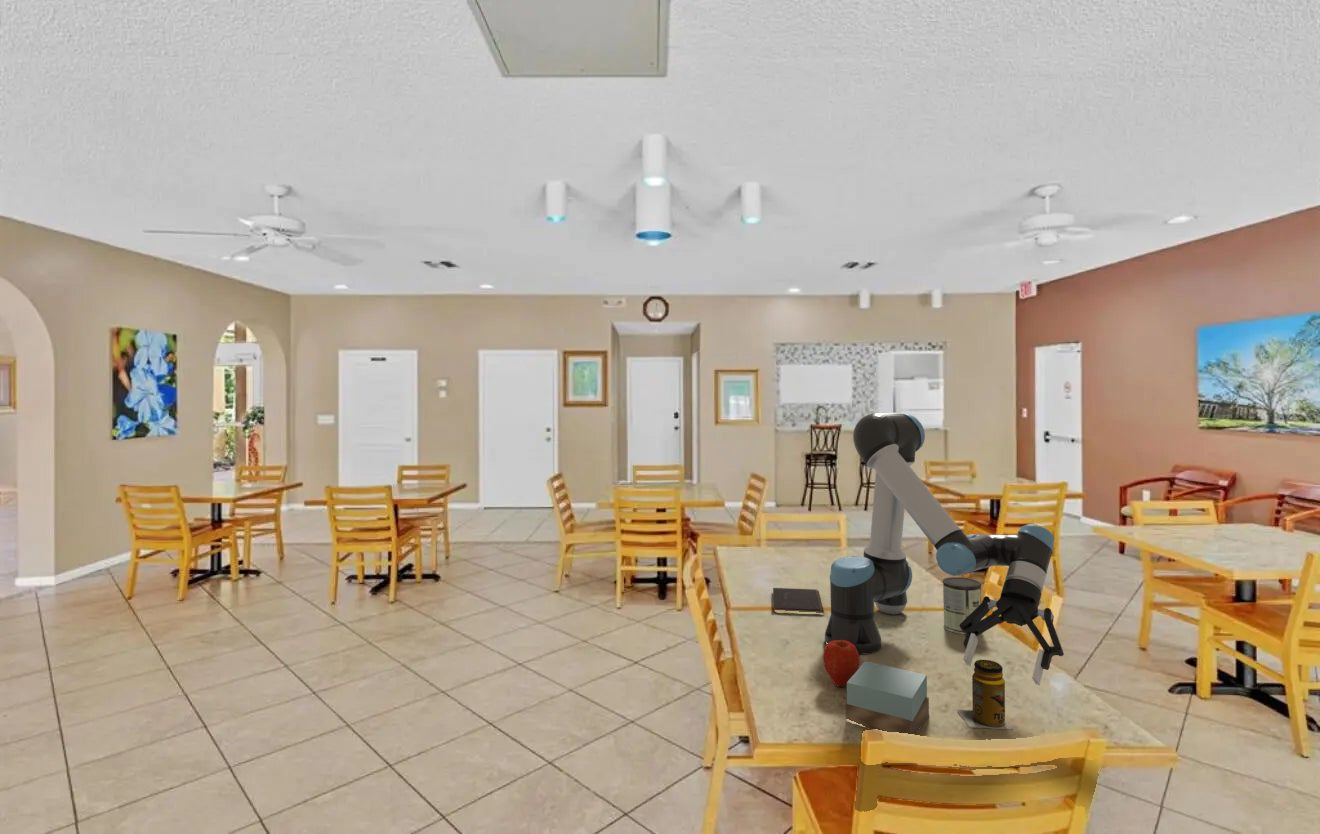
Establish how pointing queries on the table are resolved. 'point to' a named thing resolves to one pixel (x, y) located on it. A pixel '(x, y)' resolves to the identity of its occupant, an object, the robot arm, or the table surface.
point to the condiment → (987, 697)
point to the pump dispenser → (893, 604)
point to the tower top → (887, 690)
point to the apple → (841, 661)
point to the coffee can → (959, 601)
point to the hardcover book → (797, 600)
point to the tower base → (888, 719)
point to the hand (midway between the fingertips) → (999, 672)
